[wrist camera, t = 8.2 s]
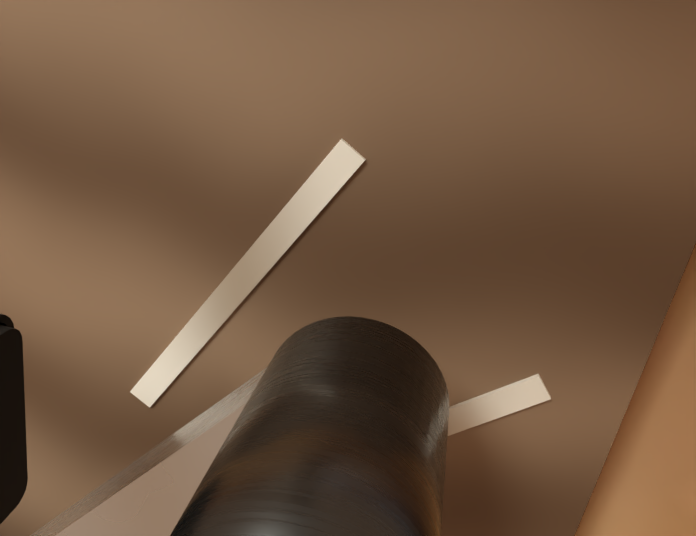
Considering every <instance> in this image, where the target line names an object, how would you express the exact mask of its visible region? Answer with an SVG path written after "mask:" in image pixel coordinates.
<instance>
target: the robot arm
mask: <svg viewBox="0 0 696 536" xmlns="http://www.w3.org/2000/svg"><path fill="white" fill-rule="evenodd" d="M27 481H28V472H27V445H26V419H25V392H24V365H23V340H22V335H21V333H20V331H19V330H17V329H15V328H14V324H13V322H12V320H11V318H10V317H8V316H6V315H4V314H0V524H1V523H2V522H3V521H4V520H5V519H6V518H7V517H8V516H9V515H10V513H11V512H12V511H13V510H14V509H15V508H16V507H17V505H18V504H19V503H20V501H21V499H22V497H23V495H24V493H25V491H26V487H27Z"/></svg>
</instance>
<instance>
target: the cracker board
mask: <svg viewBox="0 0 696 536" xmlns="http://www.w3.org/2000/svg"><path fill="white" fill-rule="evenodd" d="M695 244H696V0H0V314H4V315H6V316H8V317H10V318H11V320H12V322H13V324H14V328H15V329H17V330H19V331H20V333H21V335H22V340H23V365H24V392H25V419H26V445H27V472H28V481H27V487H26V491H25V493H24V495H23V497H22V499H21V501H20V503H19V504H18V505H17V507H16V508H15V509H14V510H13V511H12V512H11V513H10V515H9V516H8V517H7V518H6V519H5V520H4V521H3V522H2V523H1V524H0V536H30V535H32V534H33V533H34V532H36V531H37V530H39V529H40V528H41V527H43V526H44V525H46V524H47V523H48V522H50V521H51V520H53V519H54V518H55V517H57V516H58V515H60V514H61V513H62V512H64V511H65V510H67V509H68V508H69V507H71V506H72V505H74V504H75V503H77V502H78V501H79V500H81V499H82V498H84V497H85V496H86V495H88V494H89V493H91V492H92V491H93V490H95V489H96V488H98V487H99V486H100V485H102V484H103V483H105V482H106V481H107V480H109V479H110V478H112V477H113V476H115V475H116V474H117V473H119V472H120V471H122V470H123V469H124V468H126V467H127V466H129V465H130V464H131V463H133V462H134V461H136V460H137V459H138V458H140V457H141V456H143V455H144V454H145V453H147V452H148V451H150V450H151V449H152V448H154V447H155V446H157V445H158V444H160V443H161V442H162V441H164V440H165V439H167V438H168V437H169V436H171V435H172V434H174V433H175V432H176V431H178V430H179V429H181V428H182V427H183V426H185V425H186V424H188V423H189V422H190V421H192V420H193V419H195V418H196V417H198V416H199V415H200V414H202V413H203V412H205V411H206V410H207V409H209V408H210V407H212V406H213V405H214V404H216V403H217V402H219V401H220V400H221V399H223V398H224V397H226V396H227V395H228V394H230V393H231V392H233V391H234V390H236V389H237V388H238V387H240V386H241V385H243V384H244V383H245V382H247V381H248V380H250V379H251V378H252V377H254V376H255V375H257V374H258V373H259V372H261V371H262V370H264V369H265V368H266V367H268V365H269V363H270V362H271V360H272V358H273V356H274V355H275V353H276V352H277V350H278V349H279V347H280V346H281V345H282V344H283V343H284V341H285V340H286V339H287V338H289V337H290V336H291V335H292V334H293V333H294V332H296V331H298V330H299V329H301V328H303V327H304V326H306V325H309V324H311V323H313V322H316V321H319V320H323V319H326V318H333V317H345V316H353V317H363V318H368V319H373V320H377V321H380V322H383V323H386V324H389V325H391V326H393V327H395V328H397V329H399V330H401V331H403V332H404V333H406V334H407V335H409V336H411V337H412V338H413V339H414V340H416V341H417V342H418V343H419V344H421V345H422V346H423V347H424V348H425V350H426V351H427V352H428V353H429V354H430V355H431V356H432V358H433V359H434V360H435V362H436V363H437V365H438V367H439V369H440V370H441V372H442V374H443V377H444V379H445V382H446V385H447V389H448V394H449V421H448V436H447V452H446V468H445V483H444V499H443V515H442V531H441V536H575V533H576V531H577V528H578V526H579V524H580V521H581V519H582V516H583V514H584V511H585V509H586V507H587V504H588V502H589V499H590V497H591V495H592V492H593V490H594V487H595V485H596V483H597V480H598V478H599V475H600V473H601V471H602V468H603V466H604V463H605V461H606V458H607V456H608V454H609V451H610V449H611V446H612V444H613V442H614V439H615V437H616V434H617V432H618V430H619V427H620V425H621V422H622V420H623V418H624V415H625V413H626V410H627V408H628V405H629V403H630V401H631V398H632V396H633V393H634V391H635V389H636V386H637V384H638V381H639V379H640V377H641V374H642V372H643V369H644V367H645V365H646V362H647V360H648V357H649V355H650V352H651V350H652V348H653V345H654V343H655V340H656V338H657V336H658V333H659V331H660V328H661V326H662V324H663V321H664V319H665V316H666V314H667V312H668V309H669V307H670V304H671V302H672V299H673V297H674V295H675V292H676V290H677V287H678V285H679V283H680V280H681V278H682V275H683V273H684V271H685V268H686V266H687V263H688V261H689V259H690V256H691V254H692V251H693V249H694V246H695Z"/></svg>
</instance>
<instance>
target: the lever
mask: <svg viewBox="0 0 696 536" xmlns="http://www.w3.org/2000/svg"><path fill="white" fill-rule="evenodd" d="M448 421H449V394H448V389H447V385H446V382H445V379H444V377H443V374H442V372H441V370H440V369H439V367H438V365H437V363H436V362H435V360H434V359H433V358H432V356H431V355H430V354H429V353H428V352H427V351H426V350H425V348H424V347H423V346H422V345H421V344H419V343H418V342H417V341H416V340H414V339H413V338H412V337H411V336H409V335H407V334H406V333H404V332H403V331H401V330H399V329H397V328H395V327H393V326H391V325H389V324H386V323H383V322H380V321H377V320H373V319H368V318H363V317H353V316H345V317H333V318H326V319H323V320H319V321H316V322H313V323H311V324H309V325H306V326H304V327H303V328H301V329H299V330H298V331H296V332H294V333H293V334H292V335H291V336H290V337H289V338H287V339H286V340H285V341H284V343H283V344H282V345H281V346H280V347H279V349H278V350H277V352H276V353H275V355H274V356H273V358H272V360H271V362H270V363H269V365H268V367H266V368H265V369H264V370H262V371H261V372H259V373H258V374H257V375H255V376H254V377H252V378H251V379H250V380H248V381H247V382H245V383H244V384H243V385H241V386H240V387H238V388H237V389H236V390H234V391H233V392H231V393H230V394H228V395H227V396H226V397H224V398H223V399H221V400H220V401H219V402H217V403H216V404H214V405H213V406H212V407H210V408H209V409H207V410H206V411H205V412H203V413H202V414H200V415H199V416H198V417H196V418H195V419H193V420H192V421H190V422H189V423H188V424H186V425H185V426H183V427H182V428H181V429H179V430H178V431H176V432H175V433H174V434H172V435H171V436H169V437H168V438H167V439H165V440H164V441H162V442H161V443H160V444H158V445H157V446H155V447H154V448H152V449H151V450H150V451H148V452H147V453H145V454H144V455H143V456H141V457H140V458H138V459H137V460H136V461H134V462H133V463H131V464H130V465H129V466H127V467H126V468H124V469H123V470H122V471H120V472H119V473H117V474H116V475H115V476H113V477H112V478H110V479H109V480H107V481H106V482H105V483H103V484H102V485H100V486H99V487H98V488H96V489H95V490H93V491H92V492H91V493H89V494H88V495H86V496H85V497H84V498H82V499H81V500H79V501H78V502H77V503H75V504H74V505H72V506H71V507H69V508H68V509H67V510H65V511H64V512H62V513H61V514H60V515H58V516H57V517H55V518H54V519H53V520H51V521H50V522H48V523H47V524H46V525H44V526H43V527H41V528H40V529H39V530H37V531H36V532H34V533H33V534H32V535H30V536H441V531H442V515H443V499H444V483H445V468H446V452H447V436H448Z"/></svg>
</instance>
